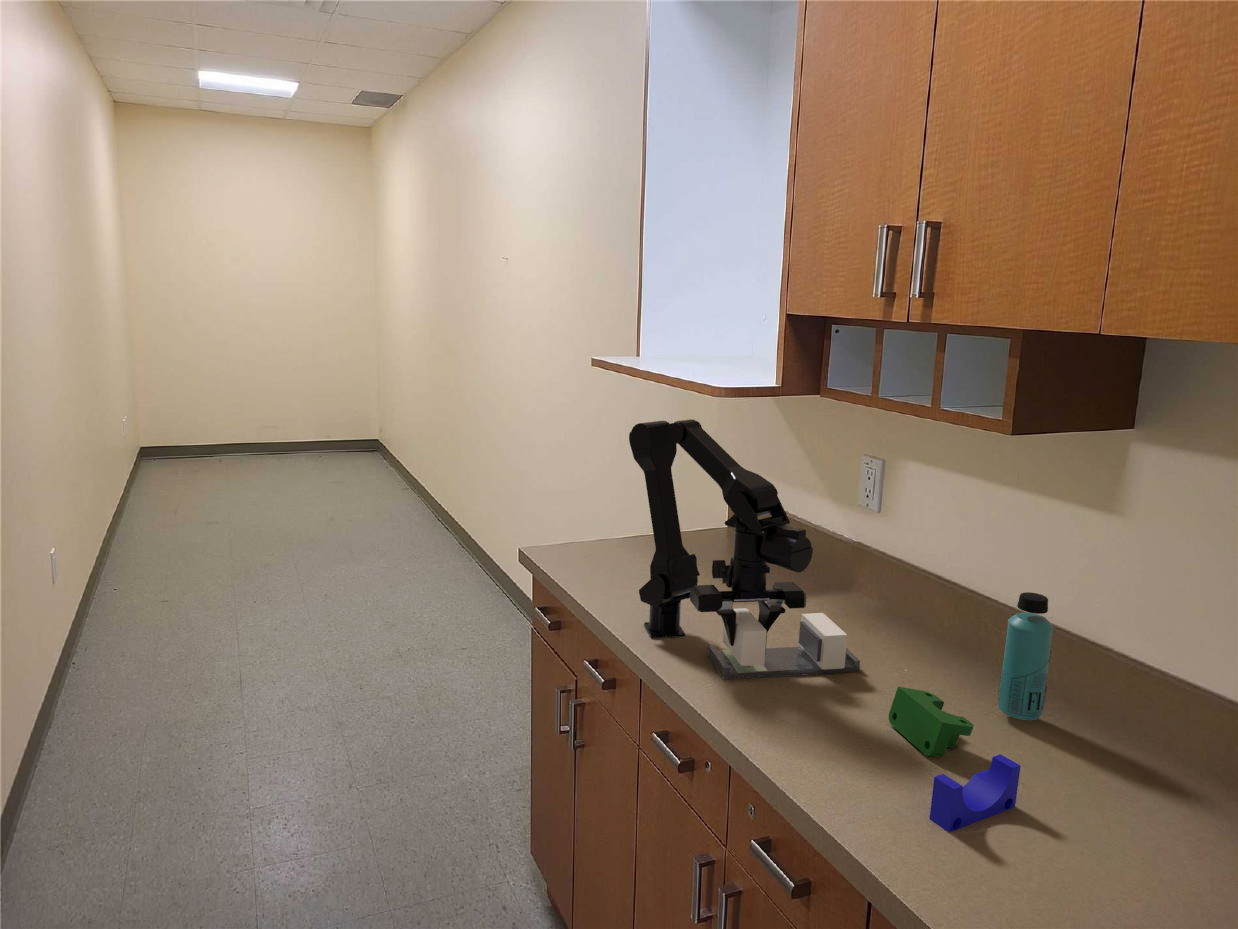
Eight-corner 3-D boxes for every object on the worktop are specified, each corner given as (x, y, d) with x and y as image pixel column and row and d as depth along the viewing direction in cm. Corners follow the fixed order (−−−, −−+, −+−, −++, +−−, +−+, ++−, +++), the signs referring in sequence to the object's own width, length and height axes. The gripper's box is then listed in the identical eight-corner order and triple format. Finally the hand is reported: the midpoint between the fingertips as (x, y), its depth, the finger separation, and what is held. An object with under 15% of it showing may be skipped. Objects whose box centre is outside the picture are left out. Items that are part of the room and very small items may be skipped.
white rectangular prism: (741, 665, 145) (743, 631, 144) (722, 641, 155) (724, 609, 153) (767, 664, 146) (769, 630, 145) (747, 640, 155) (749, 608, 154)
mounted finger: (796, 645, 157) (798, 614, 156) (820, 644, 158) (822, 612, 157) (818, 669, 148) (821, 636, 147) (844, 668, 149) (847, 635, 147)
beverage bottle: (1025, 734, 130) (1042, 606, 126) (985, 715, 136) (1001, 592, 132) (1051, 723, 134) (1068, 599, 130) (1011, 705, 139) (1027, 585, 135)
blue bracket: (985, 790, 116) (990, 748, 115) (1014, 808, 112) (1020, 765, 111) (919, 814, 110) (924, 770, 109) (948, 834, 106) (954, 789, 105)
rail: (708, 656, 154) (708, 646, 154) (836, 650, 159) (837, 639, 158) (723, 679, 145) (724, 668, 145) (859, 671, 150) (860, 660, 149)
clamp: (948, 779, 126) (983, 738, 121) (914, 774, 124) (948, 733, 120) (915, 712, 136) (946, 672, 131) (882, 707, 134) (912, 666, 129)
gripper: (785, 540, 156) (779, 623, 159) (683, 543, 153) (679, 628, 156) (810, 560, 145) (803, 649, 149) (701, 564, 142) (696, 654, 145)
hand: (745, 644), depth 150 cm, fingers closed on white rectangular prism, 4 cm apart
